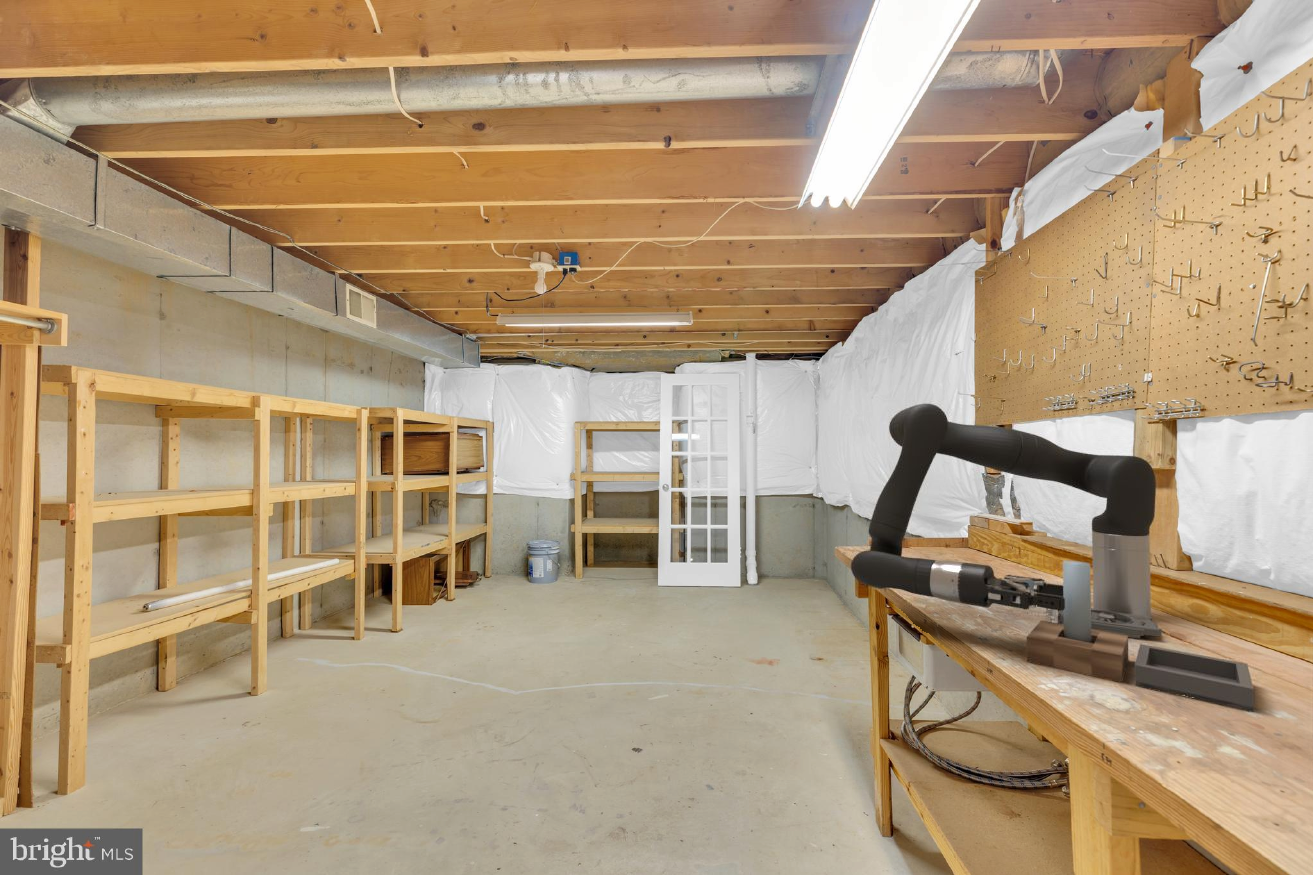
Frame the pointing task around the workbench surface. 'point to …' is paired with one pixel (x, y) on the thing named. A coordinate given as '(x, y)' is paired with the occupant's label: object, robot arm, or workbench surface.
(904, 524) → the robot arm
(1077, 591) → the dowel
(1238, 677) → the tray
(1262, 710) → the workbench surface
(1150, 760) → the workbench surface
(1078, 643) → the bore block
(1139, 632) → the graphics card
